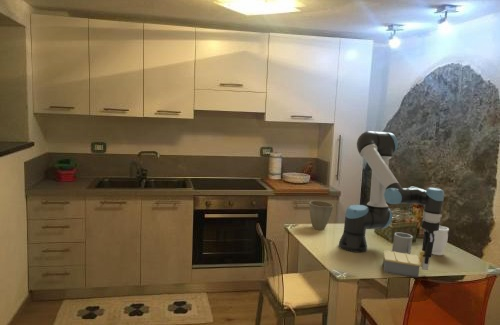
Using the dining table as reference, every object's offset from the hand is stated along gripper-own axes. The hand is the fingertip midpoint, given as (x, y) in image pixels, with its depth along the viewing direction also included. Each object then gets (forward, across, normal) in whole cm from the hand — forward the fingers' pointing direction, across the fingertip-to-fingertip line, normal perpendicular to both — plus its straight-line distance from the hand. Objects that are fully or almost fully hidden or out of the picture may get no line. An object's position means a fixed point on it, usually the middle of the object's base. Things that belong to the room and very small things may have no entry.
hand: (424, 268), depth 199 cm
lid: (-3, 0, +9) cm, 9 cm away
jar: (+3, +37, -12) cm, 39 cm away
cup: (+3, +21, +8) cm, 23 cm away
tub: (+3, 0, +11) cm, 11 cm away
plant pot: (+3, +52, +54) cm, 75 cm away
